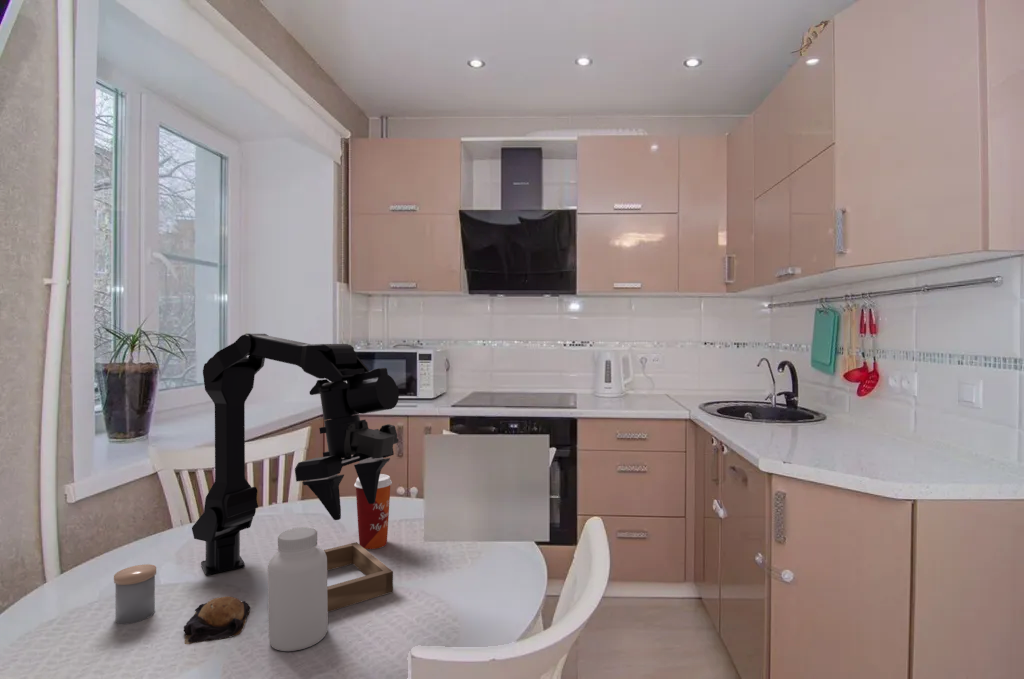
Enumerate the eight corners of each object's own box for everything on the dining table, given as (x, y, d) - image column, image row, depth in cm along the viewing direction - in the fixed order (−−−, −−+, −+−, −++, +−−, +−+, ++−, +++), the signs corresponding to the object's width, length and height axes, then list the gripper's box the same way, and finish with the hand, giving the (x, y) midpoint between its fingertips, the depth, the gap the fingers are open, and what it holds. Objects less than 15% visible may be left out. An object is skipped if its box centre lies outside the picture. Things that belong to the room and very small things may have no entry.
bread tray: (273, 581, 94) (273, 561, 94) (356, 560, 104) (356, 542, 104) (301, 620, 81) (301, 597, 81) (392, 591, 91) (392, 571, 91)
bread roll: (193, 614, 84) (193, 590, 84) (252, 605, 87) (252, 582, 87) (177, 650, 74) (177, 624, 74) (244, 638, 77) (244, 613, 77)
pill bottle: (279, 623, 80) (279, 524, 80) (333, 621, 81) (333, 523, 81) (258, 654, 72) (258, 544, 73) (319, 651, 73) (319, 542, 73)
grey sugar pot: (113, 613, 83) (113, 570, 83) (154, 603, 87) (155, 561, 87) (114, 628, 79) (114, 582, 79) (157, 617, 82) (157, 573, 82)
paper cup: (382, 552, 107) (382, 483, 107) (347, 549, 109) (347, 481, 109) (398, 538, 115) (398, 473, 115) (365, 536, 116) (365, 471, 116)
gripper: (345, 418, 78) (361, 525, 77) (412, 404, 95) (425, 492, 94) (286, 427, 82) (300, 530, 80) (360, 413, 99) (373, 497, 98)
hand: (355, 511), depth 88 cm, fingers open, 9 cm apart
